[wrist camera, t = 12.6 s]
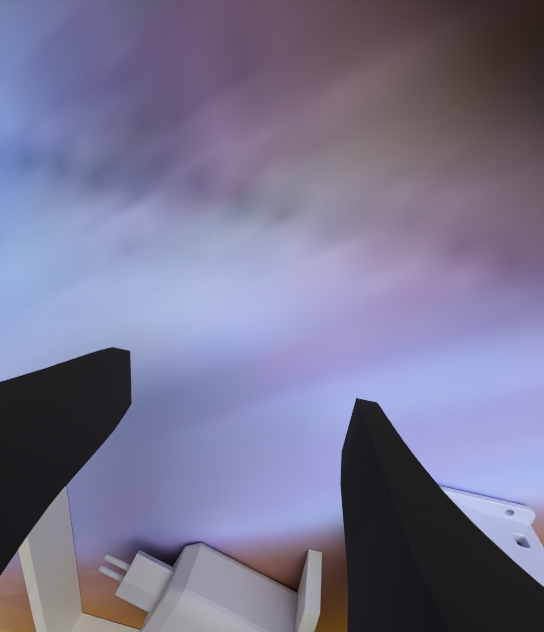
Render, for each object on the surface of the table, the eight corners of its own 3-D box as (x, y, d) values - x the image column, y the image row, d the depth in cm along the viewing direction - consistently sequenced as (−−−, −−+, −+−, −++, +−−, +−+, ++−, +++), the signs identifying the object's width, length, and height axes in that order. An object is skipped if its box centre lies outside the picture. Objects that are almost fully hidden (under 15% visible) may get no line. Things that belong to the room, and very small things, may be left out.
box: (322, 552, 26) (320, 613, 22) (285, 679, 33) (279, 741, 29) (55, 483, 28) (13, 528, 25) (74, 615, 35) (44, 666, 32)
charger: (135, 500, 28) (299, 585, 28) (106, 560, 31) (251, 635, 32) (98, 559, 23) (292, 659, 24) (69, 622, 27) (238, 707, 27)
